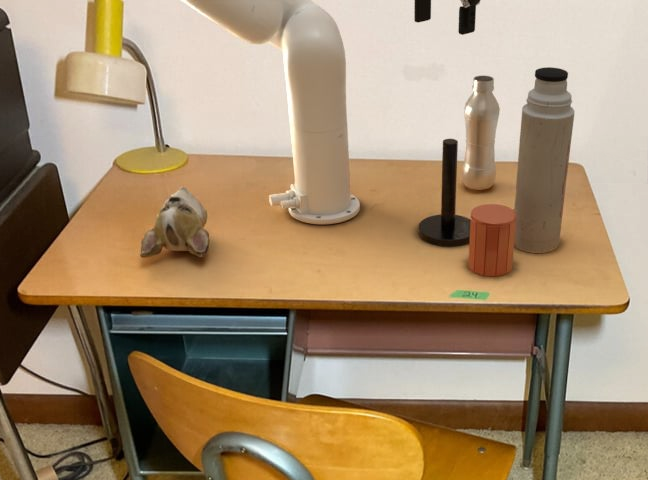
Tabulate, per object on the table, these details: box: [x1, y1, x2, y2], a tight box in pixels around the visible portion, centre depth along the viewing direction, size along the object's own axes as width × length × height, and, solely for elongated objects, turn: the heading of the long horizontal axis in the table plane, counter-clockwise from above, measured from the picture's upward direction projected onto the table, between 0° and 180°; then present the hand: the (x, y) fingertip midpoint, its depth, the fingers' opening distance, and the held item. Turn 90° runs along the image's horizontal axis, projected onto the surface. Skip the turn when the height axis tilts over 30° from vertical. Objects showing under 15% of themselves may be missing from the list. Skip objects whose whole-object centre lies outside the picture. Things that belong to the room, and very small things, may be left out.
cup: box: [467, 203, 516, 277], centre depth 133 cm, size 7×7×9 cm
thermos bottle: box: [513, 66, 575, 254], centre depth 134 cm, size 8×8×28 cm
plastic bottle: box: [461, 75, 501, 191], centre depth 154 cm, size 6×7×20 cm
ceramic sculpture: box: [139, 186, 211, 259], centre depth 136 cm, size 11×9×15 cm
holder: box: [418, 138, 471, 248], centre depth 139 cm, size 10×10×16 cm
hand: (444, 26), depth 135 cm, fingers open, 9 cm apart
